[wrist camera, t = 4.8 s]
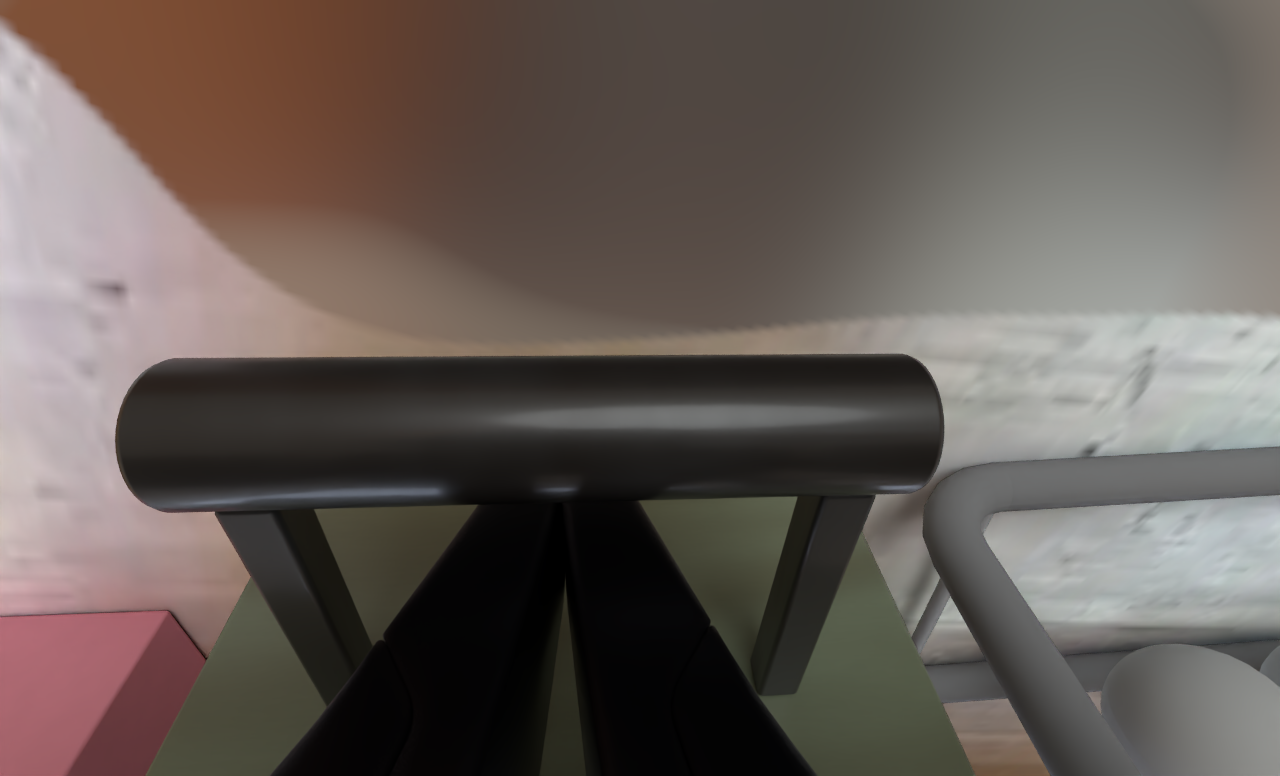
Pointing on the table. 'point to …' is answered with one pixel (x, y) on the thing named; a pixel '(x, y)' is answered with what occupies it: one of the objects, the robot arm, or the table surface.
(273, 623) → the drawer
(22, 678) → the block
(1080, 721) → the newton's cradle
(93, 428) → the table surface
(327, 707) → the robot arm
